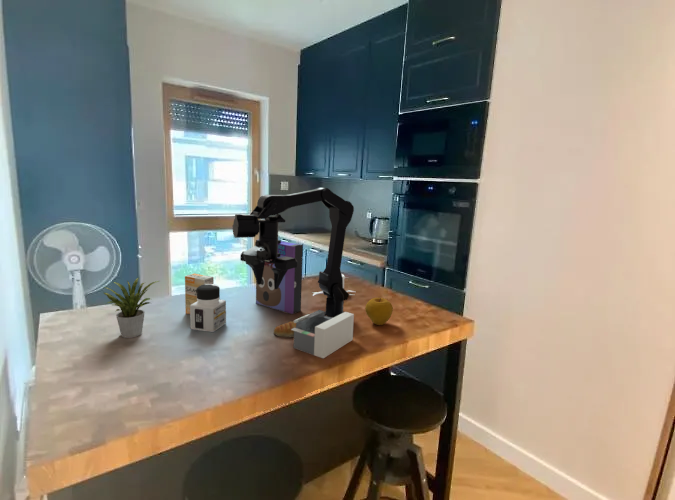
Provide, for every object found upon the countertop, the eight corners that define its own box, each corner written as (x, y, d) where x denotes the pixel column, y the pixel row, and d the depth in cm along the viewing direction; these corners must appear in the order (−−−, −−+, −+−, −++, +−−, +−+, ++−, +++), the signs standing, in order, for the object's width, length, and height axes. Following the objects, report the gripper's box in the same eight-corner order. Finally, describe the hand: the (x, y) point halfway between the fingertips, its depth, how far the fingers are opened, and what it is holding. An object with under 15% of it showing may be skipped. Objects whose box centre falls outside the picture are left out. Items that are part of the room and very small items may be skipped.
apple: (358, 323, 123) (360, 297, 122) (375, 316, 130) (377, 292, 128) (381, 331, 117) (382, 304, 116) (397, 324, 124) (399, 298, 122)
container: (213, 332, 111) (213, 290, 108) (190, 329, 112) (189, 287, 110) (226, 323, 118) (226, 283, 116) (204, 320, 120) (203, 281, 117)
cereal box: (255, 303, 138) (256, 239, 134) (265, 300, 142) (265, 238, 138) (292, 314, 129) (293, 245, 124) (300, 310, 133) (302, 244, 128)
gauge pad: (318, 331, 114) (319, 307, 113) (323, 333, 113) (324, 309, 112) (291, 345, 103) (291, 319, 102) (296, 347, 102) (297, 321, 101)
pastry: (275, 340, 108) (276, 327, 107) (272, 331, 114) (272, 319, 114) (307, 337, 111) (307, 324, 110) (301, 328, 117) (302, 317, 117)
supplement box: (184, 314, 124) (183, 275, 122) (195, 309, 129) (194, 272, 126) (204, 318, 121) (203, 279, 119) (214, 313, 126) (213, 276, 123)
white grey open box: (322, 330, 116) (323, 305, 114) (352, 339, 110) (354, 314, 109) (290, 347, 103) (291, 319, 102) (323, 358, 98) (324, 329, 96)
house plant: (153, 319, 118) (151, 269, 115) (170, 333, 108) (168, 279, 105) (101, 330, 108) (97, 276, 105) (114, 347, 98) (111, 287, 96)
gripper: (226, 235, 111) (226, 286, 114) (273, 243, 102) (271, 298, 104) (254, 232, 121) (253, 279, 123) (299, 239, 111) (297, 290, 113)
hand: (267, 286), depth 116 cm, fingers open, 7 cm apart
